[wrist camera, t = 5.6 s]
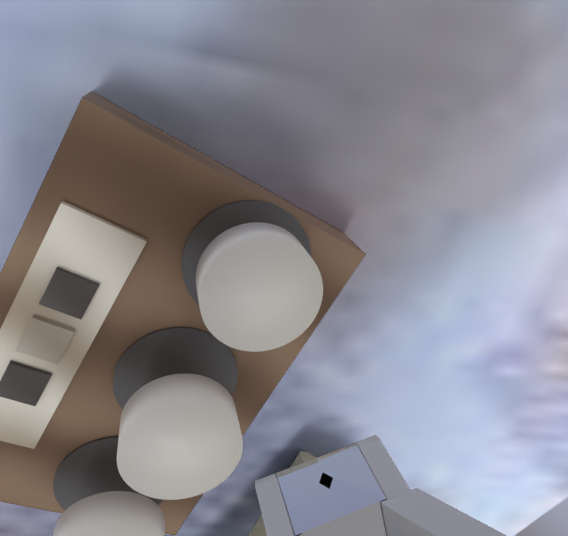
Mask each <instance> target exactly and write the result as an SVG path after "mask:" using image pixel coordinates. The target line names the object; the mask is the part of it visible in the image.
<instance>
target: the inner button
mask: <svg viewBox="0 0 568 536" xmlns="http://www.w3.org/2000/svg"><path fill="white" fill-rule="evenodd" d="M53 536H165V519H164V515H163V512H162V510H161V509H160V507H159V506H158V505H157V504H156V503H155V502H154V501H152V500H151V499H149V498H147V497H145V496H143V495H140V494H137V493H133V492H126V491H110V492H103V493H98V494H95V495H91V496H88V497H86V498H84V499H82V500H80V501H78V502H76V503H74V504H73V505H71V506H70V507H69V508H68V509H66V510H65V511H64V512H63V513H62V515H61V516H60V517H59V519H58V520H57V522H56V524H55V527H54V531H53Z"/></svg>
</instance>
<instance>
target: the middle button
mask: <svg viewBox="0 0 568 536" xmlns="http://www.w3.org/2000/svg"><path fill="white" fill-rule="evenodd" d="M242 452H243V439H242V434H241V430H240V425H239V421H238V416H237V412H236V407H235V403H234V400H233V398H232V396H231V395H230V393H229V392H228V391H227V390H226V388H225V387H223V386H222V385H221V384H220V383H218V382H216V381H215V380H213V379H210V378H208V377H205V376H202V375H197V374H186V373H184V374H173V375H168V376H164V377H161V378H158V379H155V380H153V381H151V382H149V383H147V384H146V385H144V386H143V387H141V388H140V389H139V390H137V391H136V392H135V393H134V394H133V395H132V396H131V397H130V399H129V400H128V401H127V403H126V404H125V406H124V409H123V411H122V414H121V419H120V427H119V438H118V448H117V467H118V471H119V473H120V475H121V477H122V478H123V480H124V481H125V482H126V483H127V484H128V486H130V487H131V488H132V489H133V490H135V491H137V492H139V493H140V494H143V495H145V496H148V497H152V498H156V499H163V500H178V499H185V498H190V497H194V496H197V495H200V494H203V493H205V492H207V491H209V490H211V489H213V488H215V487H216V486H218V485H219V484H221V483H222V482H223V481H224V480H226V479H227V478H228V477H229V476H230V475H231V474H232V472H233V471H234V470H235V468H236V467H237V465H238V463H239V461H240V459H241V456H242Z"/></svg>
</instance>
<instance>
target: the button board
mask: <svg viewBox="0 0 568 536" xmlns="http://www.w3.org/2000/svg"><path fill="white" fill-rule="evenodd" d="M253 222H263V223H269V224H273V225H277V226H279V227H281V228H284V229H285V230H287V231H288V232H290V233H291V234H292V235H294V236H295V237H296V238H297V239H298V241H299V242H300V243H301V244H302V246H303V247H304V248H305V250H306V251H307V252H308V254H309V255H310V256H311V258H312V259H313V260H314V262H315V264H316V265H317V267H318V269H319V271H320V274H321V277H322V282H323V297H322V303H321V306H320V309H319V311H318V313H317V315H316V317H315V319H314V321H313V322H312V323H311V325H310V326H309V327H308V328H307V329H306V330H305V331H304V332H303V333H302V334H301V335H300V336H299V337H297V338H296V339H294V340H293V341H291V342H290V343H288V344H286V345H284V346H281V347H279V348H276V349H272V350H267V351H260V352H250V351H242V350H238V349H235V348H232V347H230V346H227V345H225V344H224V343H222V342H221V341H219V340H218V339H217V338H216V337H214V336H213V335H212V333H211V332H210V331H209V330H208V328H207V327H206V325H205V323H204V321H203V319H202V316H201V312H200V307H199V301H198V295H197V289H196V270H197V265H198V262H199V260H200V258H201V255H202V253H203V252H204V250H205V249H206V247H207V246H208V245H209V244H210V243H211V242H212V241H213V240H214V239H215V238H216V237H217V236H218V235H220V234H221V233H223V232H224V231H226V230H228V229H230V228H232V227H235V226H237V225H241V224H245V223H253ZM365 255H366V254H365V253H364V252H363V251H362V250H361V249H360V248H359V247H358V246H357V245H356V244H355V243H354V242H353V241H352V240H351V239H350V238H349V237H348V236H347V235H345V234H344V233H343V232H341V231H339V230H337V229H336V228H334V227H332V226H330V225H329V224H327V223H325V222H323V221H321V220H320V219H318V218H316V217H314V216H313V215H311V214H309V213H307V212H305V211H304V210H302V209H300V208H298V207H297V206H295V205H293V204H291V203H289V202H288V201H286V200H284V199H282V198H281V197H279V196H277V195H275V194H273V193H272V192H270V191H268V190H266V189H265V188H263V187H261V186H259V185H257V184H256V183H254V182H252V181H250V180H249V179H247V178H245V177H243V176H242V175H240V174H238V173H236V172H234V171H233V170H231V169H229V168H227V167H226V166H224V165H222V164H220V163H218V162H217V161H215V160H213V159H211V158H210V157H208V156H206V155H204V154H202V153H201V152H199V151H197V150H195V149H194V148H192V147H190V146H188V145H186V144H185V143H183V142H181V141H179V140H178V139H176V138H174V137H172V136H170V135H169V134H167V133H165V132H163V131H162V130H160V129H158V128H156V127H154V126H153V125H151V124H149V123H147V122H146V121H144V120H142V119H140V118H138V117H137V116H135V115H133V114H131V113H130V112H128V111H126V110H124V109H122V108H121V107H119V106H117V105H115V104H114V103H112V102H110V101H108V100H106V99H105V98H103V97H101V96H99V95H98V94H96V93H94V92H92V91H91V92H90V93H88V94H87V95H85V96H84V97H82V99H81V101H80V103H79V105H78V108H77V110H76V112H75V114H74V116H73V118H72V120H71V123H70V125H69V127H68V129H67V131H66V133H65V136H64V138H63V140H62V142H61V144H60V146H59V148H58V151H57V153H56V155H55V157H54V159H53V161H52V163H51V166H50V168H49V170H48V172H47V174H46V176H45V179H44V181H43V183H42V185H41V187H40V189H39V191H38V194H37V196H36V198H35V200H34V202H33V204H32V207H31V209H30V211H29V213H28V215H27V217H26V219H25V222H24V224H23V226H22V228H21V230H20V232H19V234H18V237H17V239H16V241H15V243H14V245H13V247H12V250H11V252H10V254H9V256H8V258H7V260H6V262H5V265H4V267H3V269H2V271H1V273H0V501H1V502H6V503H11V504H16V505H21V506H27V507H32V508H37V509H42V510H47V511H52V512H57V513H63V512H64V511H65V510H66V509H68V508H69V507H70V506H71V505H73V504H74V503H76V502H78V501H80V500H82V499H84V498H86V497H88V496H91V495H95V494H98V493H103V492H110V491H126V492H133V493H137V494H140V493H139V492H137V491H135V490H133V489H132V488H131V487H130V486H128V484H127V483H126V482H125V481H124V480H123V478H122V477H121V475H120V473H119V471H118V467H117V448H118V438H119V427H120V419H121V414H122V411H123V409H124V406H125V404H126V403H127V401H128V400H129V399H130V397H131V396H132V395H133V394H134V393H135V392H136V391H137V390H139V389H140V388H141V387H143V386H144V385H146V384H147V383H149V382H151V381H153V380H155V379H158V378H161V377H164V376H168V375H173V374H184V373H186V374H197V375H202V376H205V377H208V378H210V379H213V380H215V381H216V382H218V383H220V384H221V385H222V386H223V387H225V388H226V390H227V391H228V392H229V393H230V395H231V396H232V398H233V400H234V403H235V407H236V412H237V416H238V421H239V425H240V430H241V434H242V436H243V434H244V433H245V431H246V430H247V429H248V427H249V426H250V424H251V423H252V421H253V420H254V418H255V417H256V415H257V414H258V412H259V411H260V409H261V408H262V406H263V405H264V403H265V402H266V400H267V399H268V398H269V396H270V395H271V393H272V392H273V390H274V389H275V387H276V386H277V384H278V383H279V381H280V380H281V378H282V377H283V375H284V374H285V372H286V371H287V370H288V368H289V367H290V365H291V364H292V362H293V361H294V359H295V358H296V356H297V355H298V353H299V352H300V350H301V349H302V347H303V346H304V344H305V343H306V342H307V340H308V339H309V337H310V336H311V334H312V333H313V331H314V330H315V328H316V327H317V325H318V324H319V322H320V321H321V319H322V318H323V316H324V315H325V314H326V312H327V311H328V309H329V308H330V306H331V305H332V303H333V302H334V300H335V299H336V297H337V296H338V294H339V293H340V291H341V290H342V288H343V287H344V285H345V284H346V283H347V281H348V280H349V278H350V277H351V275H352V274H353V272H354V271H355V269H356V268H357V266H358V265H359V263H360V262H361V260H362V259H363V257H364V256H365ZM140 495H143V494H140ZM202 495H203V494H200V495H197V496H194V497H190V498H185V499H178V500H163V499H156V498H152V497H148V496H145V495H143V496H145V497H147V498H149V499H151V500H152V501H154V502H155V503H156V504H157V505H158V506H159V507H160V509H161V510H162V512H163V515H164V519H165V534H170V535H176V533H177V532H178V530H179V529H180V527H181V526H182V524H183V523H184V521H185V520H186V518H187V517H188V515H189V514H190V513H191V511H192V510H193V508H194V507H195V505H196V504H197V502H198V501H199V499H200V498H201V496H202Z"/></svg>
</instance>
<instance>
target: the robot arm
mask: <svg viewBox="0 0 568 536" xmlns="http://www.w3.org/2000/svg"><path fill="white" fill-rule="evenodd" d="M276 475H277V476H276ZM277 478H278V479H277ZM278 481H279V482H278ZM255 489H256V493H257V497H258V501H259V505H260V509H261V513H262V517H263V521H264V525H265V529H266V533H267V536H506V535H504V534H503V533H501V532H499V531H497V530H495V529H493V528H491V527H489V526H487V525H486V524H484V523H482V522H480V521H478V520H476V519H474V518H472V517H470V516H469V515H467V514H465V513H463V512H461V511H459V510H457V509H455V508H453V507H452V506H450V505H448V504H446V503H444V502H442V501H440V500H438V499H437V498H435V497H433V496H431V495H429V494H427V493H425V492H423V491H421V490H420V489H418V488H415V489H412V490H410V488H409V487H408V485H407V483H406V482H405V480H404V479H403V477H402V475H401V474H400V472H399V470H398V469H397V467H396V465H395V464H394V462H393V461H392V459H391V457H390V456H389V454H388V452H387V451H386V449H385V447H384V446H383V444H382V442H381V441H380V439H379V438H378V437H377V436H376V435H374V436H371V437H369V438H366V439H364V440H361V441H358V442H356V443H352V444H350V445H347V446H345V447H342V448H340V449H337V450H335V451H332V452H330V453H327V454H325V455H322V456H320V457H317V458H316V459H314V460H311V461H308V462H305V463H302V464H300V465H297V466H294V467H291V468H288V469H285V470H282V471H280V472H277V473H275V474H272V475H269V476H266V477H264V478H261V479H258V480H255Z"/></svg>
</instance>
